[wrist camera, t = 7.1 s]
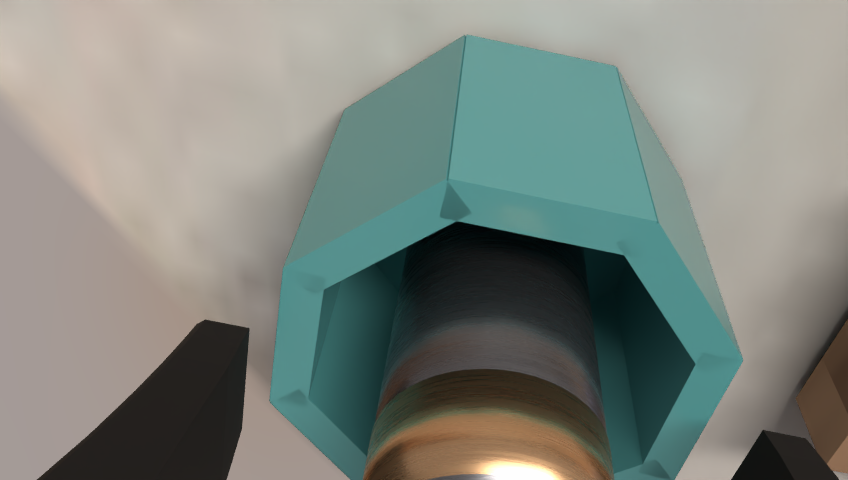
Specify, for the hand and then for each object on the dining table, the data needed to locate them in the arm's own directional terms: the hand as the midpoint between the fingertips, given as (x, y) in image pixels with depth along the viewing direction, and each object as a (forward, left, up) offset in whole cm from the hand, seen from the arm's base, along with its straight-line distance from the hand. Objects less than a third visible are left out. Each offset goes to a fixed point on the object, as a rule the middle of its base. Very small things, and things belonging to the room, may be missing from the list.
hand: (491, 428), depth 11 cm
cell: (0, 0, -5) cm, 5 cm away
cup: (0, 0, -6) cm, 6 cm away
